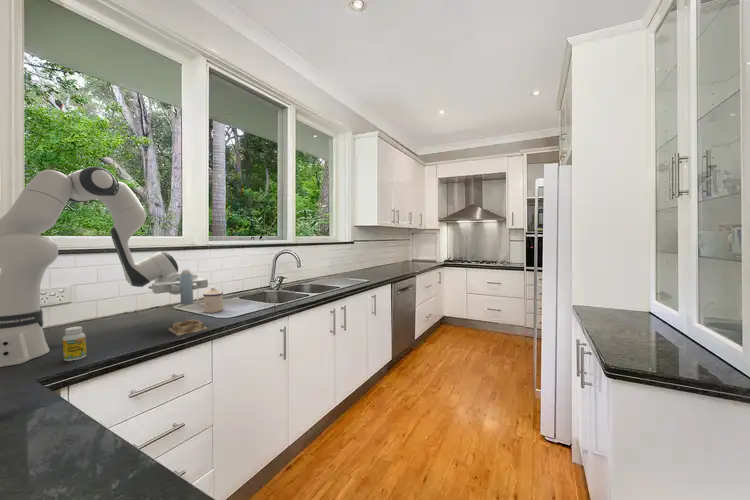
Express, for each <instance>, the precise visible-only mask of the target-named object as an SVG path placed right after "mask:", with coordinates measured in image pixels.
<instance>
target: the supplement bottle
mask: <svg viewBox="0 0 750 500" xmlns="http://www.w3.org/2000/svg"><path fill="white" fill-rule="evenodd" d="M64 333H65V335H63V337H62V351H63V360H64V361H66V362H72V361H73V360H74V361H78V360H82V359H84V358H85V357H87V342H86V341H87V340H86V334H85V333H84V332H83V327H82V326H73V327H72V326H70V327H67V328H65V329H64Z"/></svg>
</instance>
